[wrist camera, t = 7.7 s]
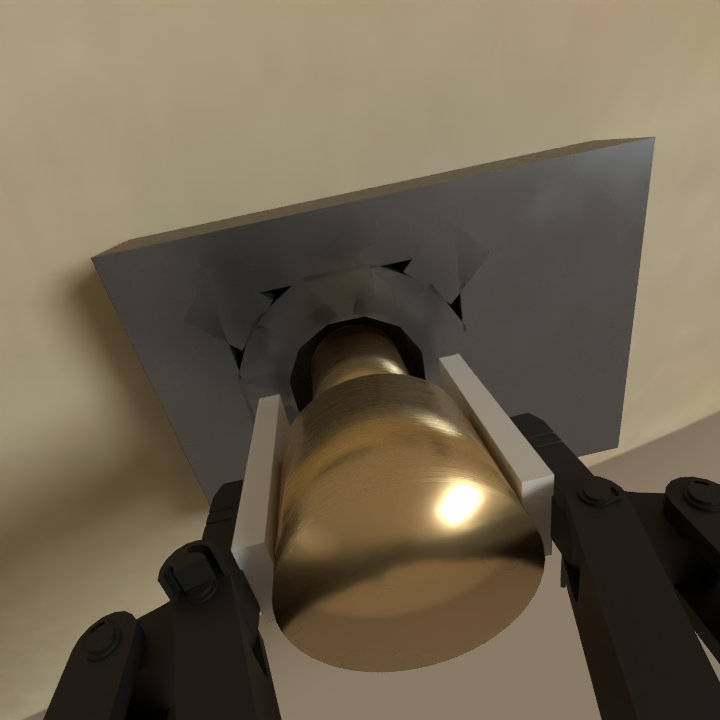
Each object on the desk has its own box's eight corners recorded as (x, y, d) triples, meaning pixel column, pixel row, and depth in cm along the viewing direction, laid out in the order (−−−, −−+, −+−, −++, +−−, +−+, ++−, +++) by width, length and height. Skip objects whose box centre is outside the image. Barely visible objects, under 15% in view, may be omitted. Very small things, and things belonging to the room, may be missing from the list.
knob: (307, 433, 20) (310, 694, 10) (272, 319, 17) (232, 526, 8) (427, 405, 20) (543, 638, 10) (411, 288, 18) (547, 453, 8)
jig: (236, 488, 24) (226, 539, 20) (129, 239, 17) (90, 257, 14) (577, 409, 24) (617, 447, 21) (593, 140, 18) (655, 136, 15)
